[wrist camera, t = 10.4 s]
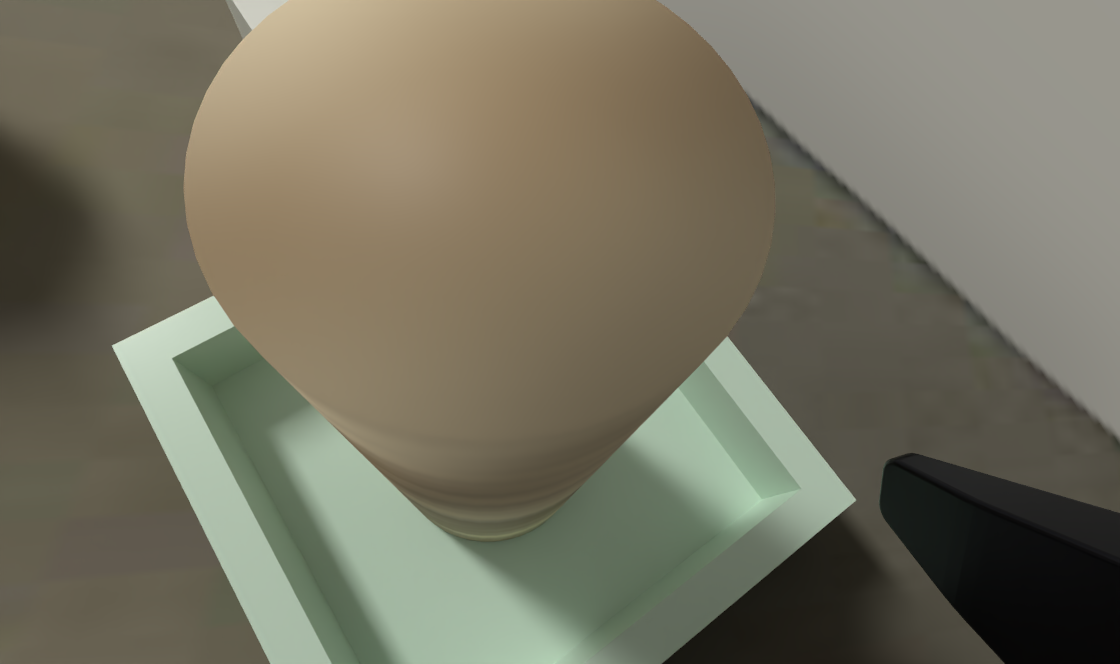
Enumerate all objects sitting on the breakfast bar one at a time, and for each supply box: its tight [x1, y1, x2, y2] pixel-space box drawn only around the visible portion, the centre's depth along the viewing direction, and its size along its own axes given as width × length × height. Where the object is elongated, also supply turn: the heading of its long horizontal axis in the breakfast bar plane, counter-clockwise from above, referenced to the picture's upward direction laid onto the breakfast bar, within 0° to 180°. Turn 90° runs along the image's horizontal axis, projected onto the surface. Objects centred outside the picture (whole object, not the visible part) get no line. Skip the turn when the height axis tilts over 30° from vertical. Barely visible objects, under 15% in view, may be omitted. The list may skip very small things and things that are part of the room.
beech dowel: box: [184, 0, 775, 542], centre depth 11 cm, size 5×5×13 cm
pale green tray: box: [112, 296, 856, 664], centre depth 17 cm, size 13×13×3 cm
